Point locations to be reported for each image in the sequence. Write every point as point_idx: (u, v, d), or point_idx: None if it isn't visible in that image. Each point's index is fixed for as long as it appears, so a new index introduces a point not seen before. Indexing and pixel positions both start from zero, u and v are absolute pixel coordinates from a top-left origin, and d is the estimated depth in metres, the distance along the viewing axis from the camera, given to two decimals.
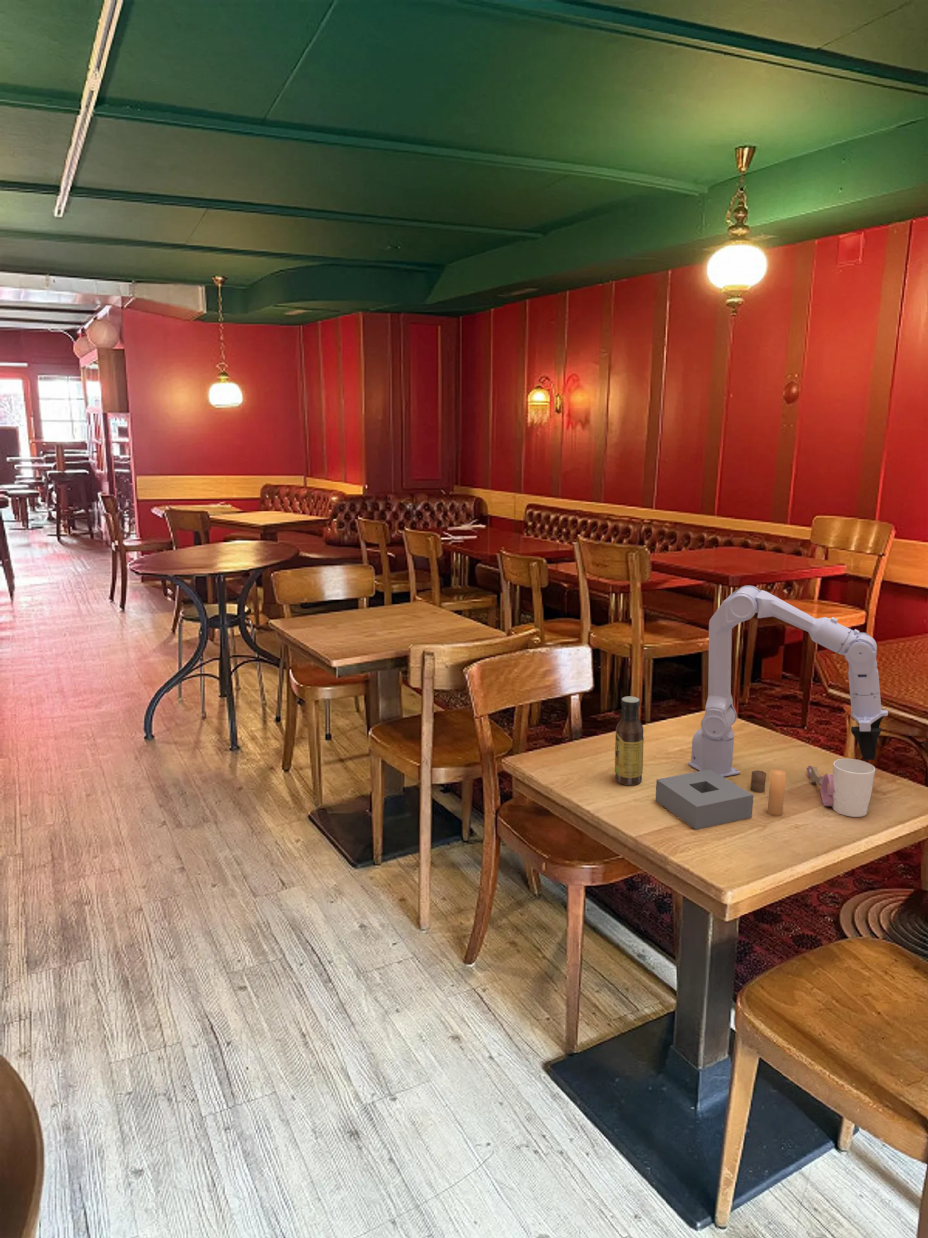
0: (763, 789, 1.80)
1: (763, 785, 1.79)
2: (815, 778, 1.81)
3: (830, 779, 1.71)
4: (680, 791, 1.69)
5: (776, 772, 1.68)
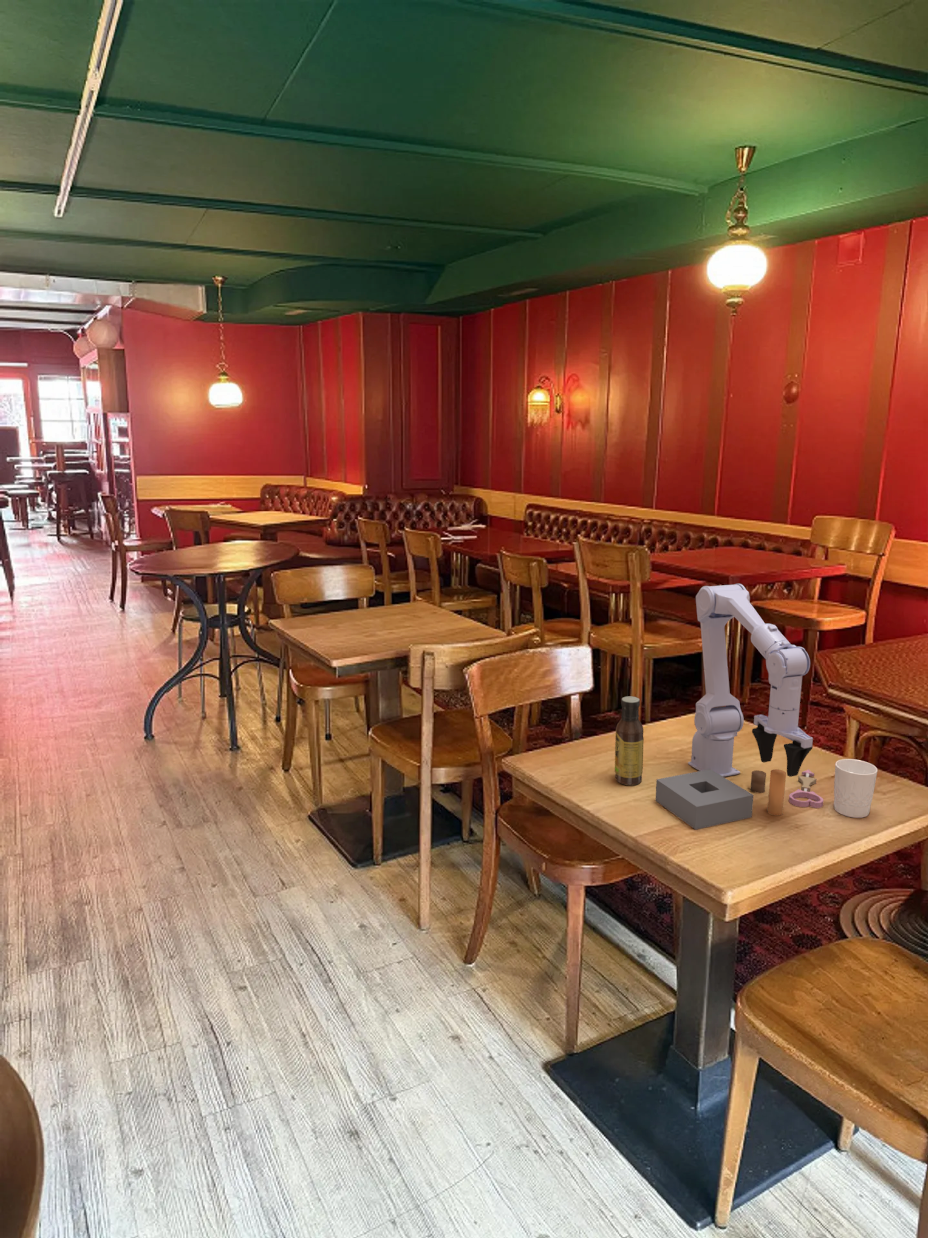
0: (763, 789, 1.80)
1: (763, 785, 1.79)
2: None
3: (791, 802, 1.74)
4: (680, 791, 1.69)
5: (776, 772, 1.68)
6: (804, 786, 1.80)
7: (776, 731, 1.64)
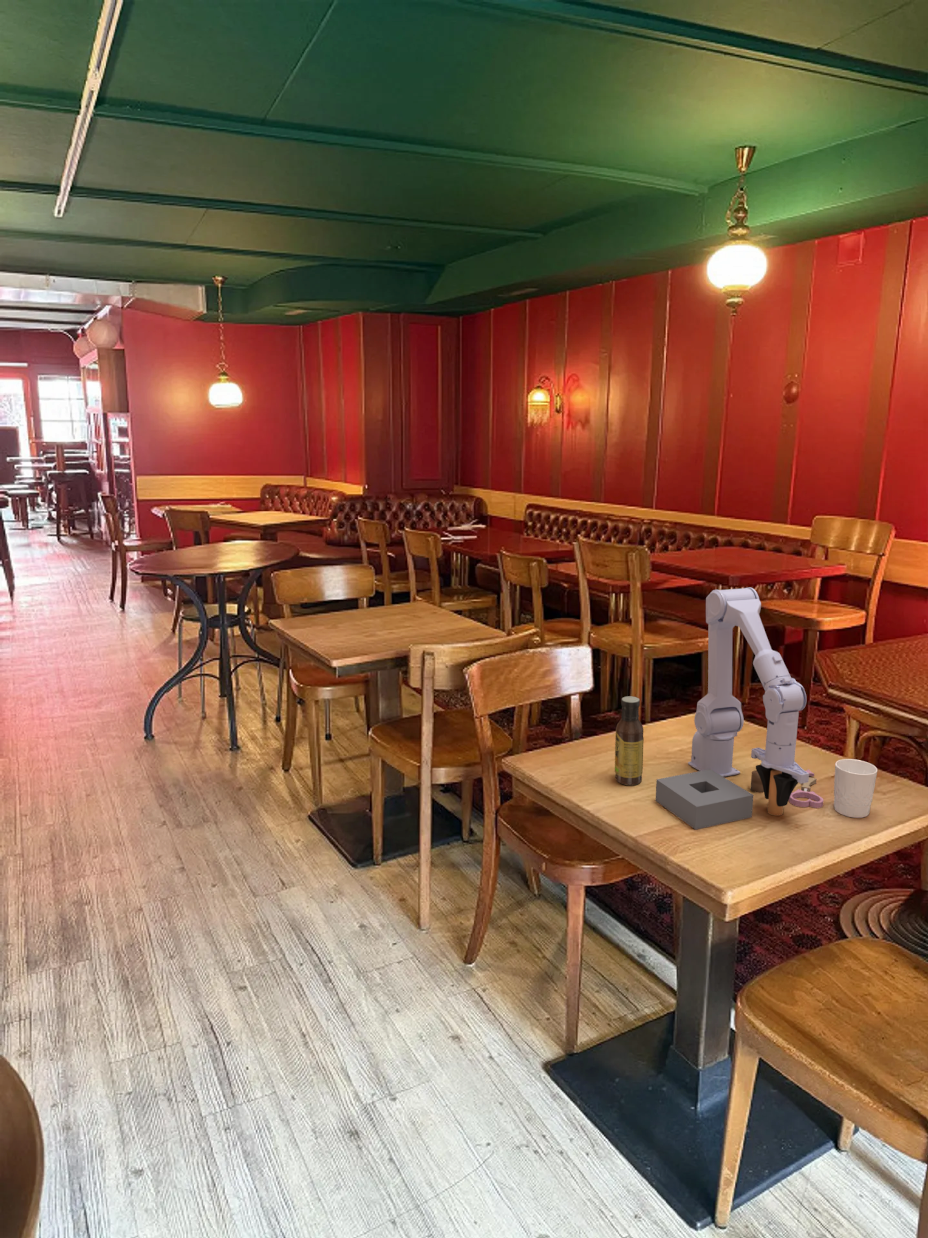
0: None
1: None
2: None
3: (791, 802, 1.74)
4: (680, 791, 1.69)
5: (776, 772, 1.68)
6: (804, 786, 1.80)
7: (773, 766, 1.66)
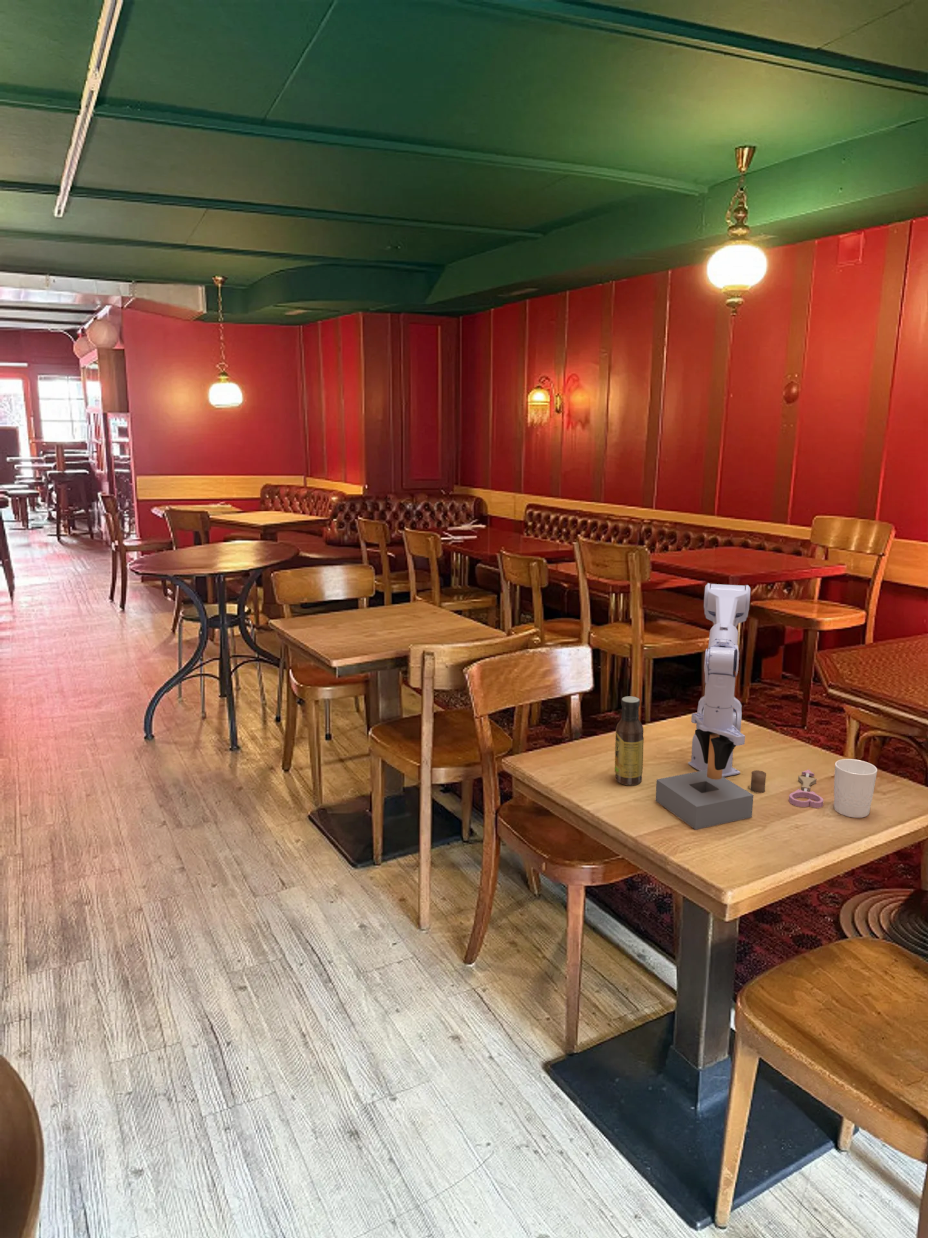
0: (763, 789, 1.80)
1: (763, 785, 1.79)
2: None
3: (791, 802, 1.74)
4: (680, 791, 1.69)
5: (716, 736, 1.68)
6: (804, 786, 1.80)
7: (710, 729, 1.65)
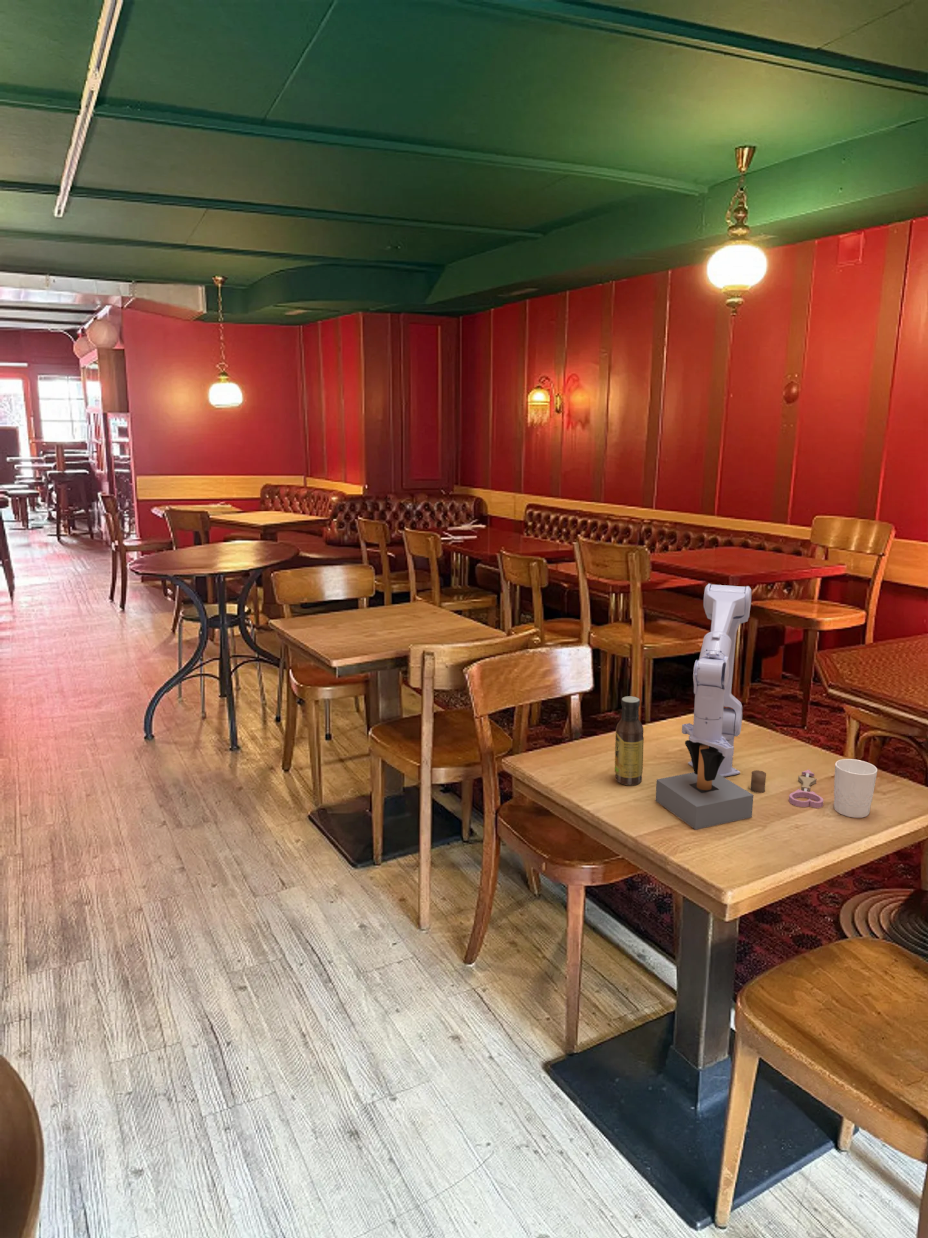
0: (763, 789, 1.80)
1: (763, 785, 1.79)
2: None
3: (791, 802, 1.74)
4: (680, 791, 1.69)
5: (705, 746, 1.69)
6: (804, 786, 1.80)
7: (700, 740, 1.66)
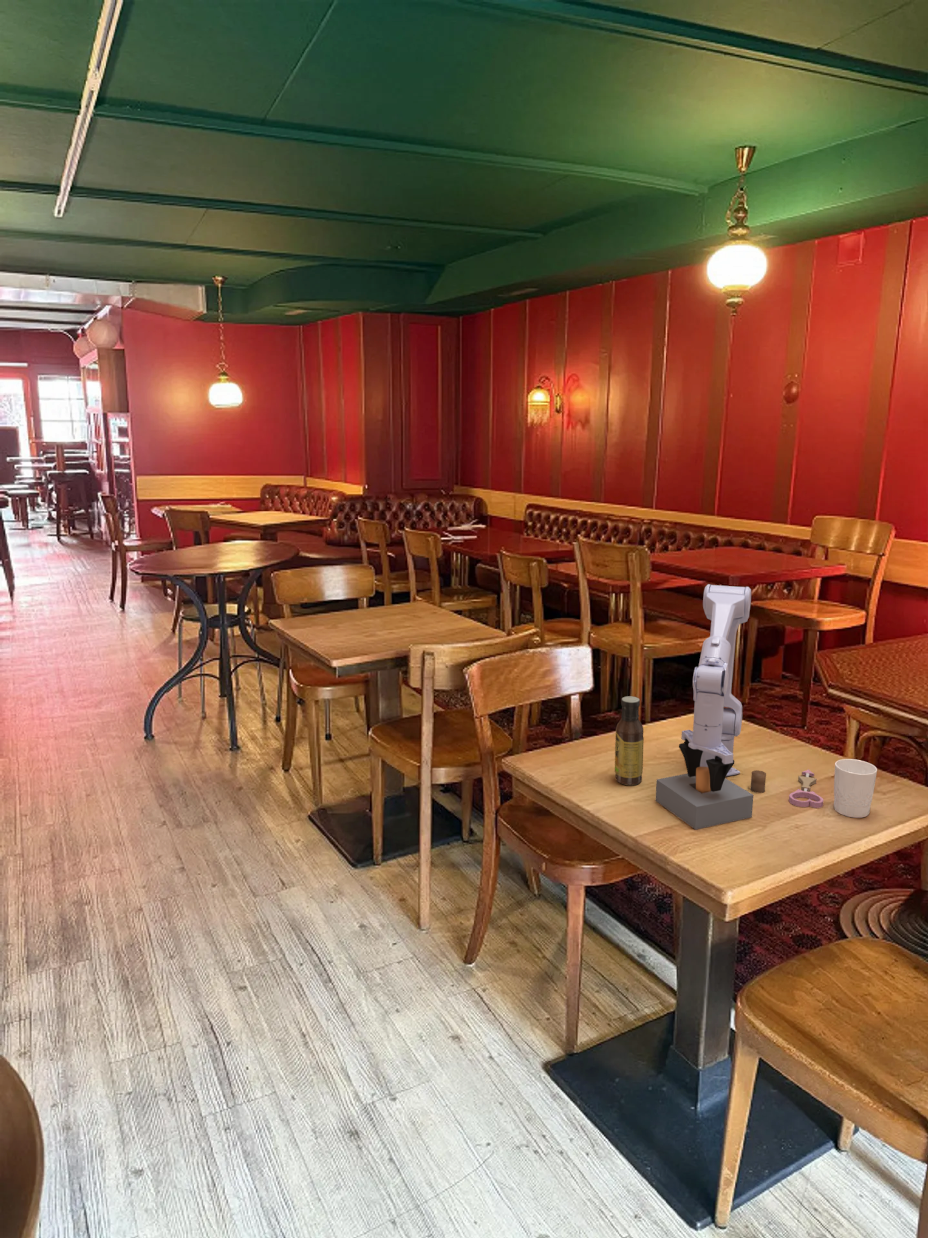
0: (763, 789, 1.80)
1: (763, 785, 1.79)
2: None
3: (791, 802, 1.74)
4: (680, 791, 1.69)
5: (702, 769, 1.70)
6: (804, 786, 1.80)
7: (699, 747, 1.67)
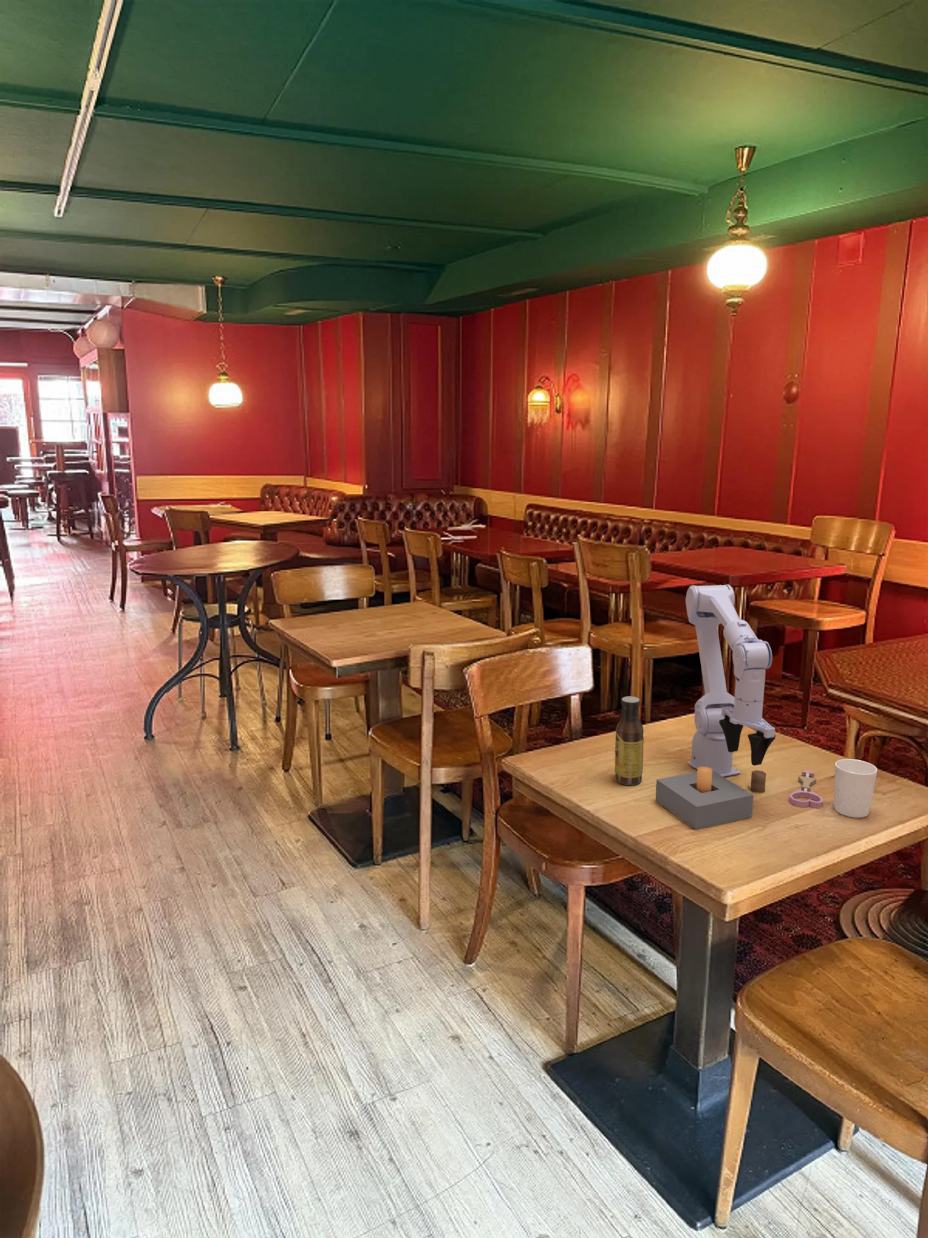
0: (763, 789, 1.80)
1: (763, 785, 1.79)
2: None
3: (791, 802, 1.74)
4: (680, 791, 1.69)
5: (703, 769, 1.70)
6: (804, 786, 1.80)
7: (741, 722, 1.70)
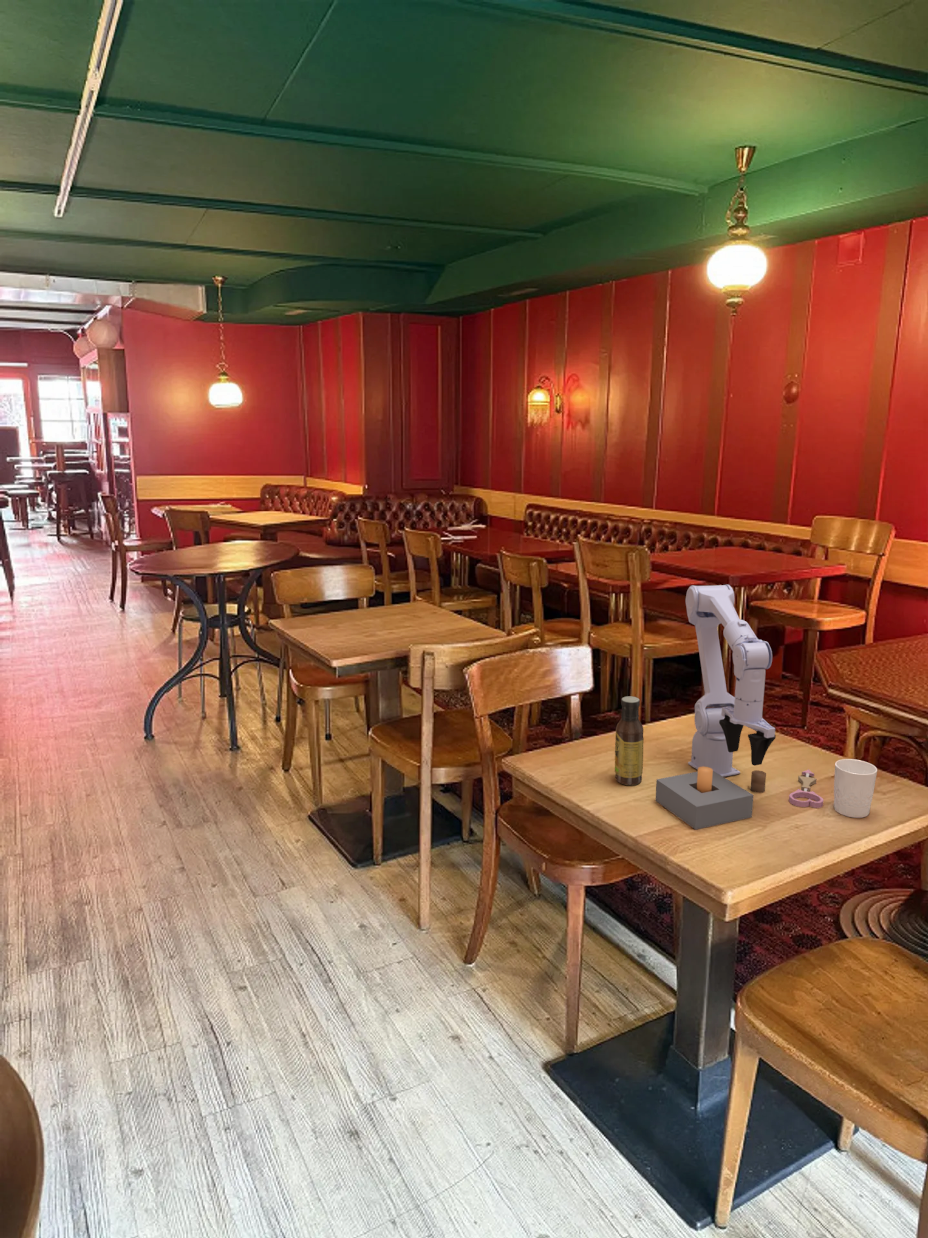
0: (763, 789, 1.80)
1: (763, 785, 1.79)
2: None
3: (791, 802, 1.74)
4: (680, 791, 1.69)
5: (704, 769, 1.70)
6: (804, 786, 1.80)
7: (741, 722, 1.70)
